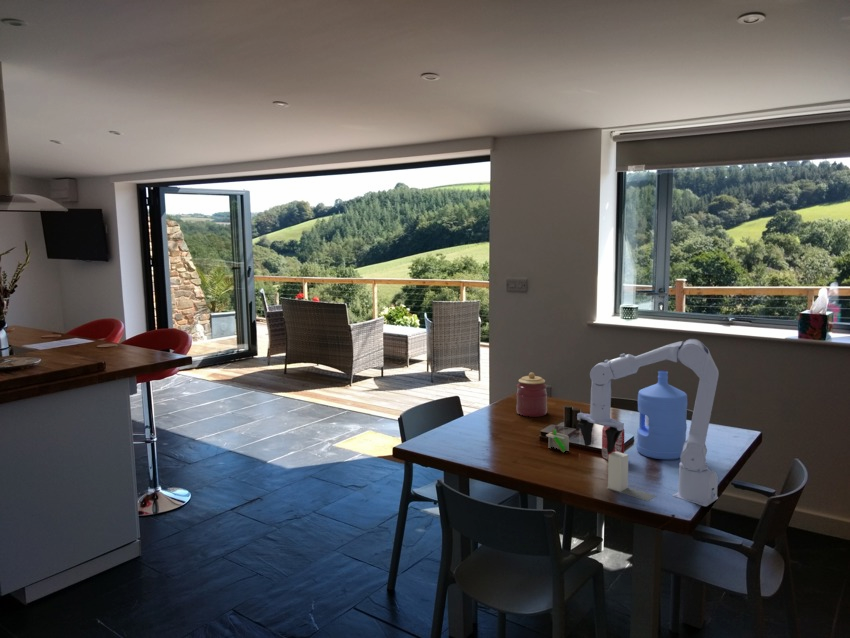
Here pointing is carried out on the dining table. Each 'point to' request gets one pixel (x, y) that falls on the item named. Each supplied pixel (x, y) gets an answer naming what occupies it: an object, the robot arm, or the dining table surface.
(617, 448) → the soda can
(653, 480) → the dining table surface
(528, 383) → the canister
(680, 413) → the water jug
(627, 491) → the rubber mat
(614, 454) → the cream block
